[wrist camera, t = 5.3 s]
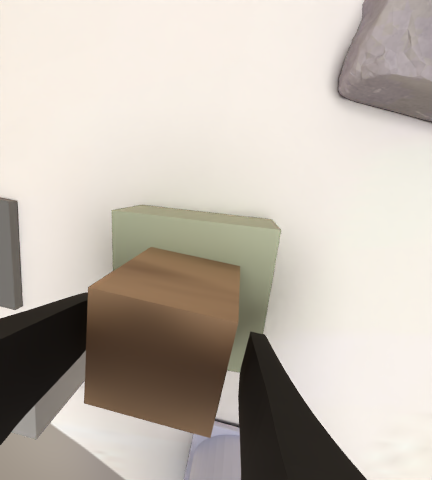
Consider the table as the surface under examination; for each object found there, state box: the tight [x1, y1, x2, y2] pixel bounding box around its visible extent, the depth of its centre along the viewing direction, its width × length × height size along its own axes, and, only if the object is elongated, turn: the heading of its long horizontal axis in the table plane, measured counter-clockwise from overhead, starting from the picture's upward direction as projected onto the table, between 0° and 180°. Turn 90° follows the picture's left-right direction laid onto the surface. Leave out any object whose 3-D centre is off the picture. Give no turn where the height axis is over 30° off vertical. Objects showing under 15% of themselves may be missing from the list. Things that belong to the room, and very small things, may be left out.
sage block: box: [112, 205, 281, 372], centre depth 14 cm, size 9×9×4 cm
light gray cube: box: [12, 350, 86, 439], centre depth 17 cm, size 5×5×5 cm
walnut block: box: [84, 247, 240, 438], centre depth 10 cm, size 5×5×5 cm
